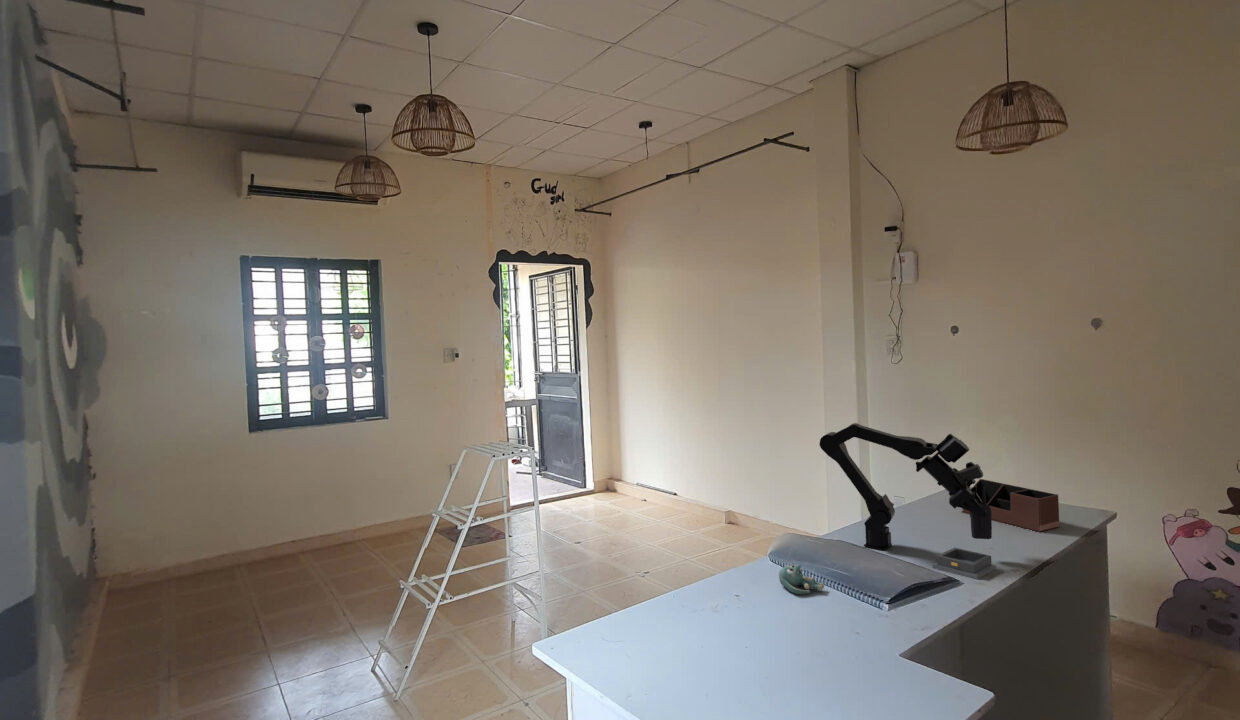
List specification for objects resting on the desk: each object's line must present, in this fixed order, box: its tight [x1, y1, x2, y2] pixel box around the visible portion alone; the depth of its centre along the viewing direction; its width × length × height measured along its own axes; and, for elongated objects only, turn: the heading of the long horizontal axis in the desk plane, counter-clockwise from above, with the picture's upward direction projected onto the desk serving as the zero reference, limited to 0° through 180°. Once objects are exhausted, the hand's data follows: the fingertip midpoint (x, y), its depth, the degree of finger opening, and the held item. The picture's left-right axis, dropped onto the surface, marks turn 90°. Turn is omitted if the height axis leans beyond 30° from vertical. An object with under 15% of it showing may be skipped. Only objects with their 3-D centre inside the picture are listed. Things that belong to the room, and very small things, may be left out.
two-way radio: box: [969, 486, 993, 540], centre depth 182 cm, size 6×4×15 cm
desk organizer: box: [960, 478, 1062, 534], centre depth 218 cm, size 10×29×11 cm, turn 22°
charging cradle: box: [932, 547, 997, 580], centre depth 177 cm, size 12×11×4 cm
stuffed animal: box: [778, 563, 825, 596], centre depth 169 cm, size 11×7×12 cm
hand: (986, 514), depth 182 cm, fingers closed on two-way radio, 5 cm apart
